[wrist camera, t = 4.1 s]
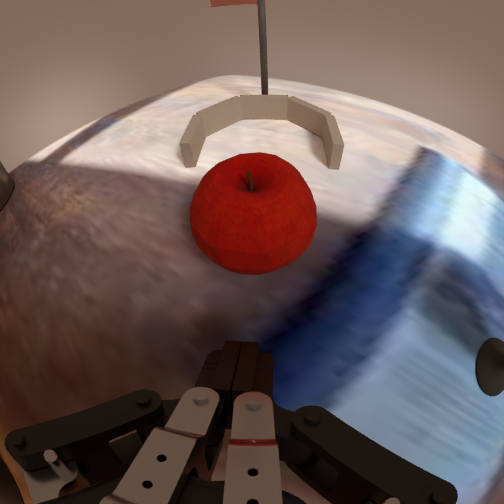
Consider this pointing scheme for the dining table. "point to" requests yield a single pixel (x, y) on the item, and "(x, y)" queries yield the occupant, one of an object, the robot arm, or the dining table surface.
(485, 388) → the sundae
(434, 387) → the dining table surface
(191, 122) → the cup
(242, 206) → the apple
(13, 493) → the pillar candle
